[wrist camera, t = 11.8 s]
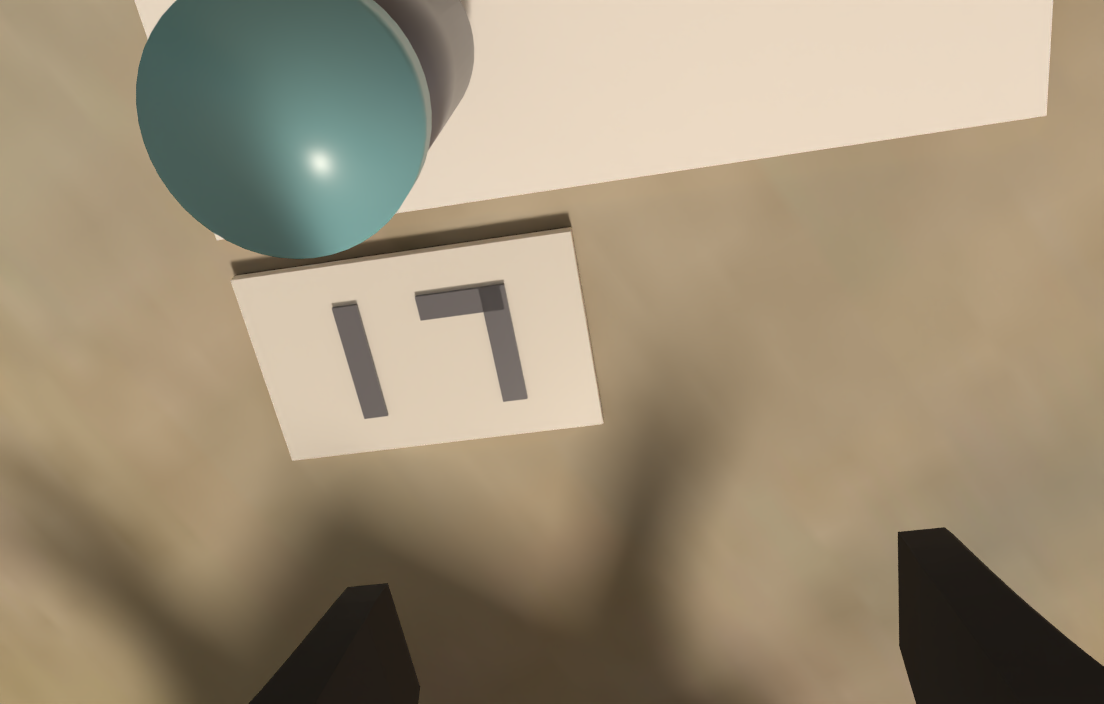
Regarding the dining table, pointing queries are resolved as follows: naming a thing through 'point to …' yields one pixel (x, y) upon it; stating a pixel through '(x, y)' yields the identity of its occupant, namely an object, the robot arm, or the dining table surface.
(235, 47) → the marker
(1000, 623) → the robot arm
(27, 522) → the dining table surface
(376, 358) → the word card
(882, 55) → the paper
